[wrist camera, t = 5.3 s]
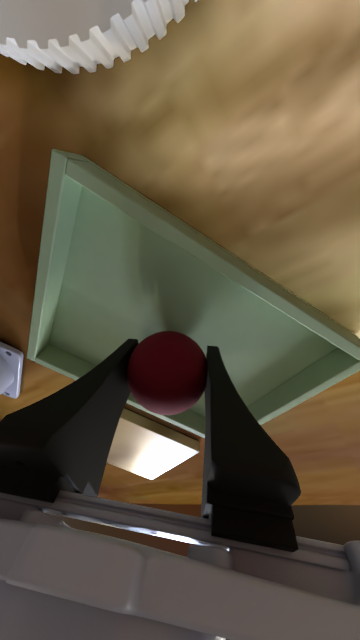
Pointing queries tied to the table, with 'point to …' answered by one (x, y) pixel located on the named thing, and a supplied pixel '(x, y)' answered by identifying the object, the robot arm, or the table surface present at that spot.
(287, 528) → the robot arm
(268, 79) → the table surface
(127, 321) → the tray
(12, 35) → the plastic lid
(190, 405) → the plum
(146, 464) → the board
